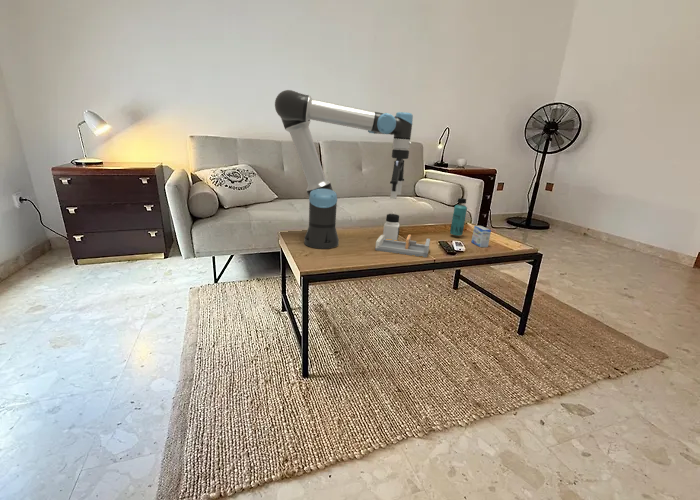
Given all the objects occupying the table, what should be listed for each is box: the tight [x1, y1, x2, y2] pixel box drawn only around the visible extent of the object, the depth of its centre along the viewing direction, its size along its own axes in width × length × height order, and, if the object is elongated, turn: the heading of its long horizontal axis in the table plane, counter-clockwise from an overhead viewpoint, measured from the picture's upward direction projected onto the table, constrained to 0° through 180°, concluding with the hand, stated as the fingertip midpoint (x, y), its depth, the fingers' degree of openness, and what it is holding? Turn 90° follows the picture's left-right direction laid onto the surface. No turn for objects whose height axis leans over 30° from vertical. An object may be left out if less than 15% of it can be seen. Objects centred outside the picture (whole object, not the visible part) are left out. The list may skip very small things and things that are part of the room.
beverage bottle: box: [449, 197, 468, 237], centre depth 176 cm, size 6×7×20 cm
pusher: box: [405, 234, 417, 249], centre depth 150 cm, size 4×8×5 cm, turn 164°
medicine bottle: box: [382, 213, 401, 241], centre depth 167 cm, size 7×7×12 cm
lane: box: [375, 234, 431, 258], centre depth 151 cm, size 22×12×5 cm, turn 74°
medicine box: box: [471, 225, 492, 248], centre depth 166 cm, size 8×4×9 cm, turn 12°
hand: (395, 196), depth 162 cm, fingers open, 13 cm apart
